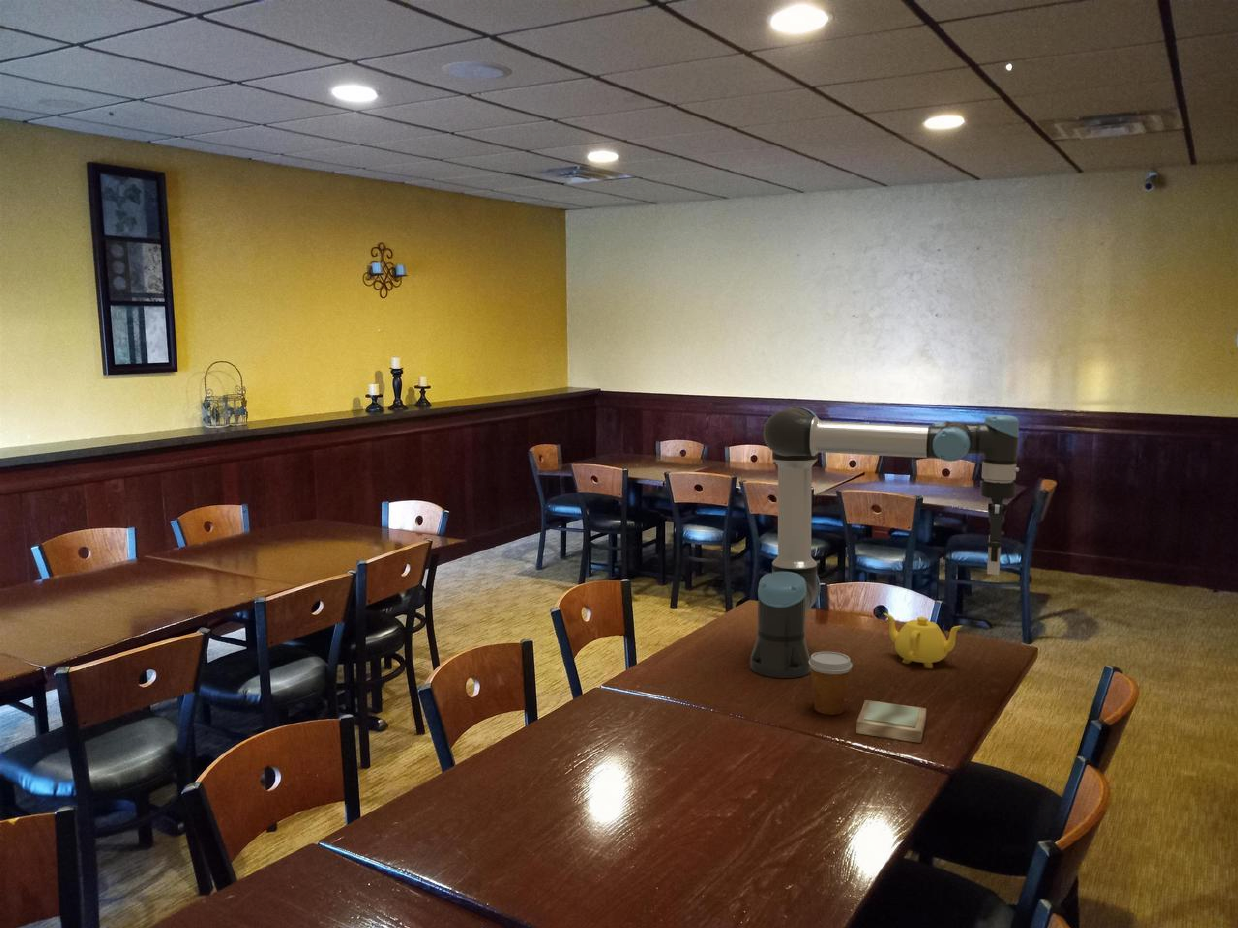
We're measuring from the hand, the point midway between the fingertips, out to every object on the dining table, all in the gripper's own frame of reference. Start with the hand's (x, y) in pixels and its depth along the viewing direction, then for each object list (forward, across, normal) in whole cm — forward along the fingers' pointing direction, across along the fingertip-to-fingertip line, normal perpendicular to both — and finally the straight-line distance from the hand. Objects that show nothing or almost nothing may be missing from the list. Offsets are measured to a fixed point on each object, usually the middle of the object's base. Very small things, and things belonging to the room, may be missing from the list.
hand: (993, 567), depth 225 cm
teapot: (+28, +6, +16) cm, 33 cm away
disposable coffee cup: (+28, -34, +32) cm, 55 cm away
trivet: (+28, -38, +18) cm, 51 cm away
